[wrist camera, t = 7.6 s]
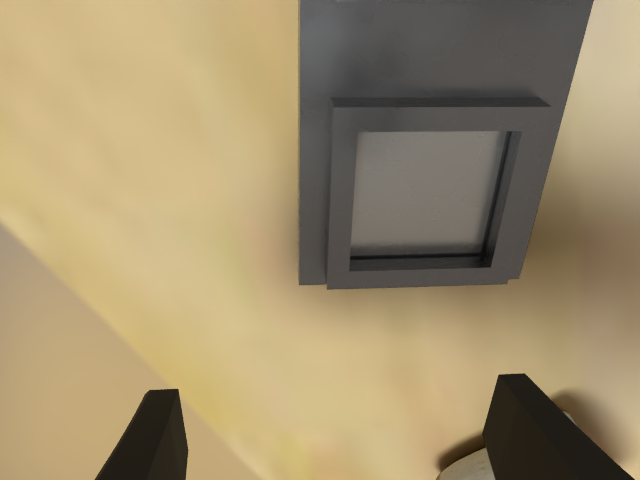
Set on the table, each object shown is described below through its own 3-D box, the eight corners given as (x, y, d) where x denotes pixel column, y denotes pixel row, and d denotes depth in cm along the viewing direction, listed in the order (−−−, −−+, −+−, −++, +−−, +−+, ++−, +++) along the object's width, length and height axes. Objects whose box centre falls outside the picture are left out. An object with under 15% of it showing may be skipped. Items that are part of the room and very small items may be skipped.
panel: (660, -333, 13) (718, -367, 12) (509, 264, 23) (528, 293, 21) (299, -357, 13) (303, -398, 11) (297, 270, 22) (300, 300, 20)
